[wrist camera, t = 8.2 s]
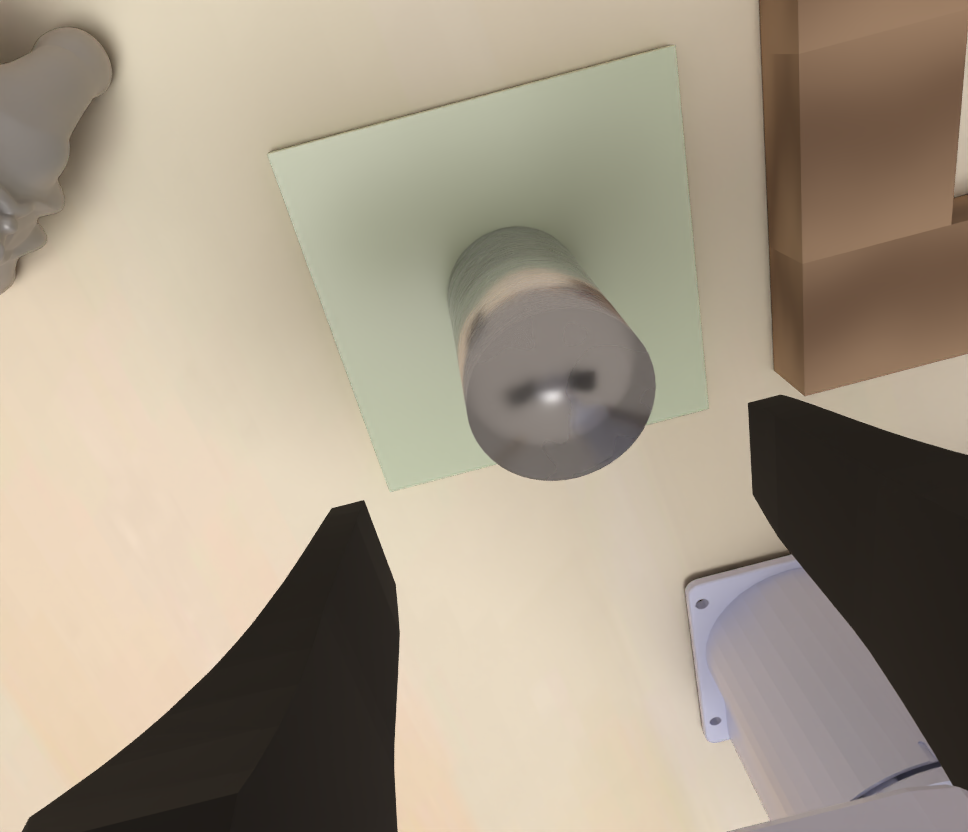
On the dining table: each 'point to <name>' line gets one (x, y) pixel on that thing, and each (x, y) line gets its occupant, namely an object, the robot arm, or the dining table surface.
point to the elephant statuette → (41, 133)
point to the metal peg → (544, 358)
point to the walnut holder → (864, 186)
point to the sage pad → (487, 207)
